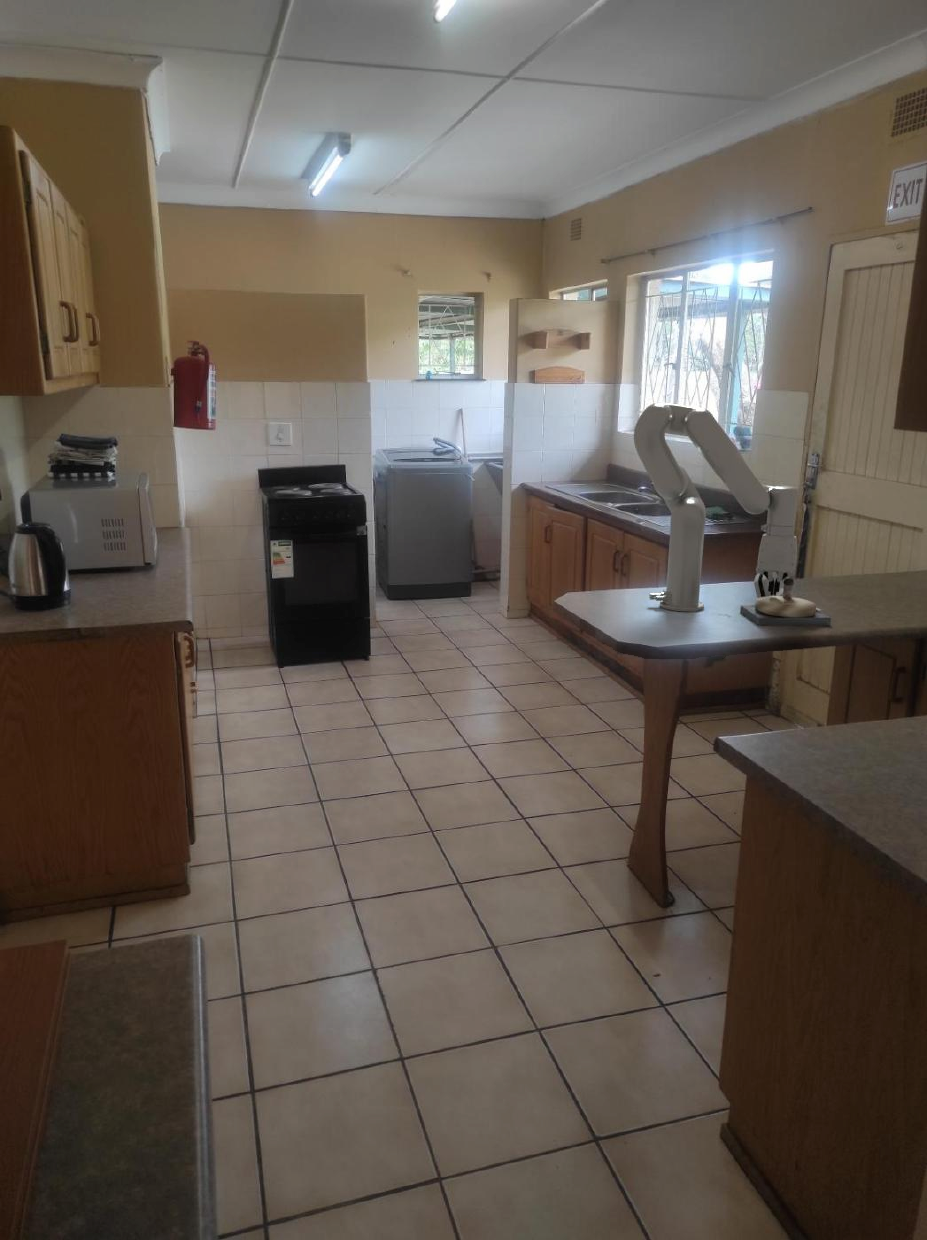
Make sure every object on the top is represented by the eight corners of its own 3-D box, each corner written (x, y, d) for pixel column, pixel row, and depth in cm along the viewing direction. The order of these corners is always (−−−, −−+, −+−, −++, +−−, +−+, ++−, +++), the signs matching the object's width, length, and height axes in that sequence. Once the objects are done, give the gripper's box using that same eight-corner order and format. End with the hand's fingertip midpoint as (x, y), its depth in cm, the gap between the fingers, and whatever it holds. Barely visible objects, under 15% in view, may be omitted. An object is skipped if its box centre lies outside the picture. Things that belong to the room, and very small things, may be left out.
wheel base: (758, 625, 238) (759, 615, 237) (740, 612, 251) (740, 603, 250) (830, 625, 239) (831, 615, 238) (808, 612, 252) (809, 602, 251)
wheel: (752, 613, 240) (755, 585, 238) (757, 600, 254) (760, 573, 252) (814, 619, 234) (818, 590, 232) (816, 606, 248) (819, 578, 246)
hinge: (776, 606, 258) (767, 574, 258) (760, 609, 261) (751, 577, 260) (787, 595, 272) (779, 564, 272) (771, 598, 275) (763, 567, 274)
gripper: (751, 531, 243) (745, 595, 248) (809, 534, 239) (801, 599, 244) (752, 527, 250) (746, 589, 255) (807, 530, 246) (800, 593, 250)
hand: (773, 594), depth 249 cm, fingers closed
